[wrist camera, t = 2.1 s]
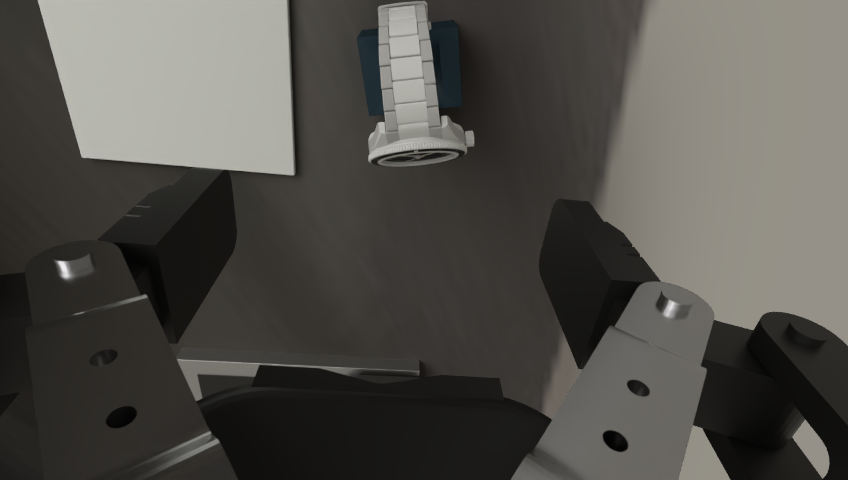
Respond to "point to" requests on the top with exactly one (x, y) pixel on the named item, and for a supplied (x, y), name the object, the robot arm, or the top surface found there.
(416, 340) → the top surface
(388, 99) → the watch
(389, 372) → the picture frame
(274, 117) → the mat
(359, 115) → the top surface
